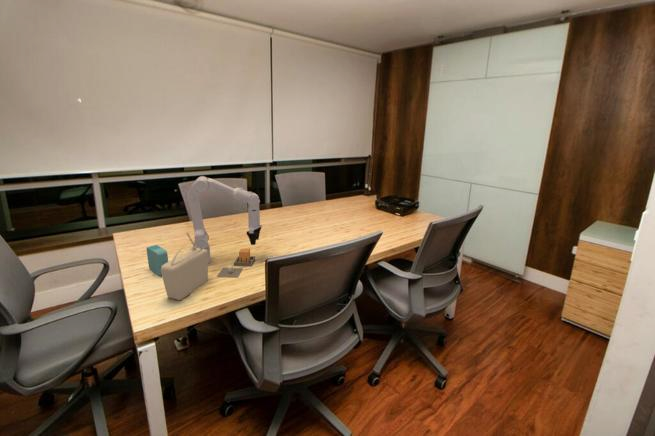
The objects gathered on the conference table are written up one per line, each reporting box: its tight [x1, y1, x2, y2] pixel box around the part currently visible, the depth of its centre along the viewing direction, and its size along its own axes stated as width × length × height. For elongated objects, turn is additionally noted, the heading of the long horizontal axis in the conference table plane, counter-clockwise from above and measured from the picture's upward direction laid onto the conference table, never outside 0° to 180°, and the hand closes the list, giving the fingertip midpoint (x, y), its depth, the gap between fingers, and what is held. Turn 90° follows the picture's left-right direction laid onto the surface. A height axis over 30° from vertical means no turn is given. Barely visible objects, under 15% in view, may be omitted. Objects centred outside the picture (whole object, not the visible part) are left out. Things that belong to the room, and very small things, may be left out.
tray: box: [233, 255, 256, 267], centre depth 166 cm, size 9×9×2 cm
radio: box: [161, 231, 209, 301], centre depth 136 cm, size 22×8×25 cm, turn 163°
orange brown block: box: [238, 248, 251, 263], centre depth 165 cm, size 4×4×7 cm
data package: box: [146, 244, 169, 277], centre depth 153 cm, size 12×4×12 cm, turn 50°
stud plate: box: [216, 265, 244, 279], centre depth 154 cm, size 10×10×4 cm
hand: (254, 242), depth 169 cm, fingers open, 7 cm apart
